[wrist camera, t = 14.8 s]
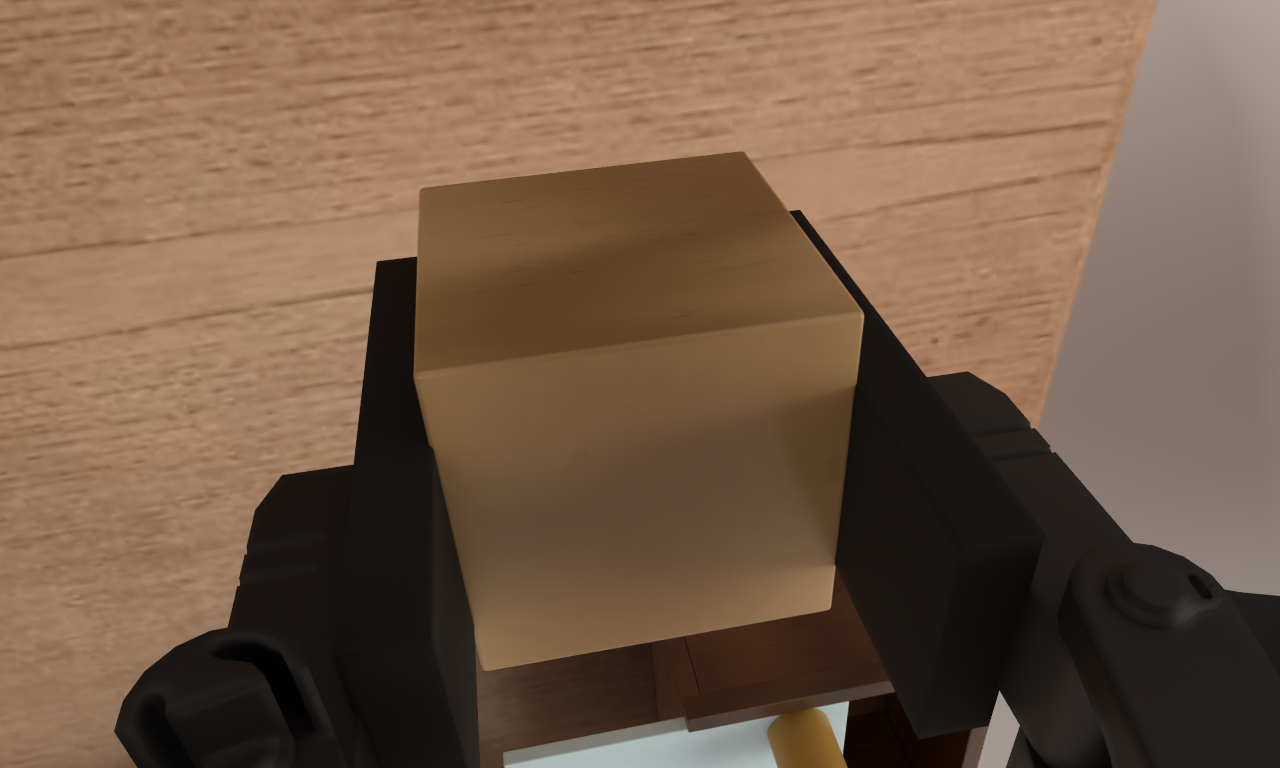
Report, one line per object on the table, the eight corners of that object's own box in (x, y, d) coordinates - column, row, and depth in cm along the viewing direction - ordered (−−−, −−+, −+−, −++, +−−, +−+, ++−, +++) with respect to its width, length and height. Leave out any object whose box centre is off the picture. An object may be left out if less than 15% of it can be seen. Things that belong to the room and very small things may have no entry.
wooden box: (925, 492, 41) (1029, 653, 34) (890, 712, 51) (964, 873, 44) (642, 541, 40) (687, 720, 33) (661, 757, 50) (698, 932, 42)
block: (744, 149, 12) (866, 312, 9) (739, 406, 15) (832, 611, 12) (418, 186, 12) (412, 375, 8) (469, 446, 15) (481, 673, 11)
